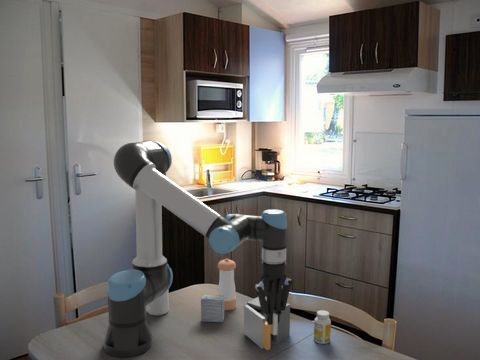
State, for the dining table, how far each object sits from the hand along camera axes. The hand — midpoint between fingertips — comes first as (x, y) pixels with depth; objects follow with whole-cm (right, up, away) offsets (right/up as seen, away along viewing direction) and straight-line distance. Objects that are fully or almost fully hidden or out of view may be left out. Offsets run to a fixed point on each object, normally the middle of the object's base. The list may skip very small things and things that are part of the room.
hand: (273, 332), depth 148 cm
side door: (-5, -5, +5) cm, 9 cm away
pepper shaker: (-15, -1, +34) cm, 38 cm away
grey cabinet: (-1, -4, +12) cm, 13 cm away
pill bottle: (-41, -2, +29) cm, 51 cm away
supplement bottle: (+17, -5, +8) cm, 19 cm away
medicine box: (-20, -3, +23) cm, 31 cm away
